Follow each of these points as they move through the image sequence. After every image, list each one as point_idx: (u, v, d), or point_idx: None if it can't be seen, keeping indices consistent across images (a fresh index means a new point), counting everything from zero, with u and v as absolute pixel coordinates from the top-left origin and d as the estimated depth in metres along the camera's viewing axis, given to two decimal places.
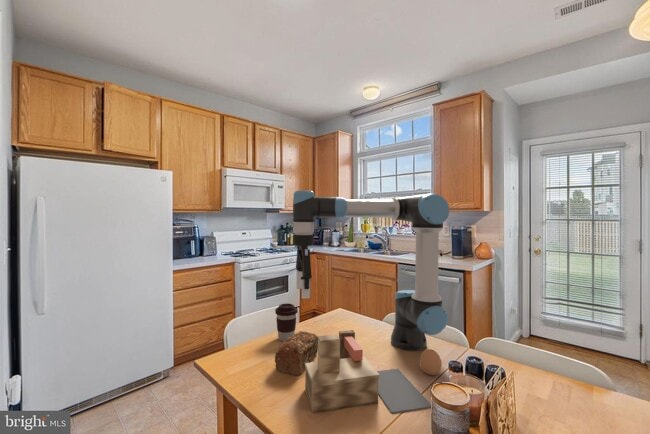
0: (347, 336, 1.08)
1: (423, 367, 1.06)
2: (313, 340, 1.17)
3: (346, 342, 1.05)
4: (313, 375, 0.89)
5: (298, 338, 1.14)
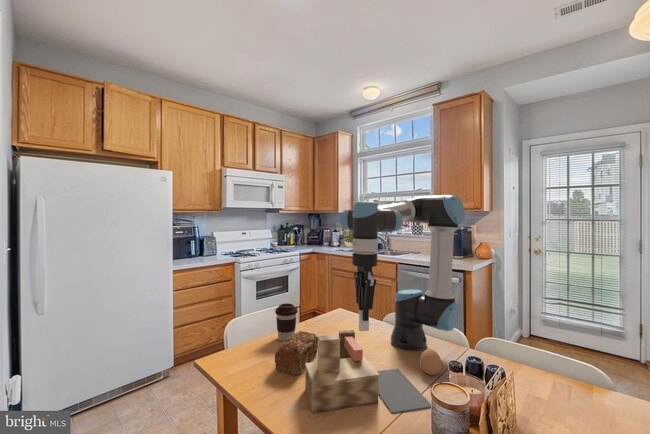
0: (347, 336, 1.08)
1: (423, 367, 1.06)
2: (313, 340, 1.17)
3: (346, 342, 1.05)
4: (313, 375, 0.89)
5: (298, 338, 1.14)
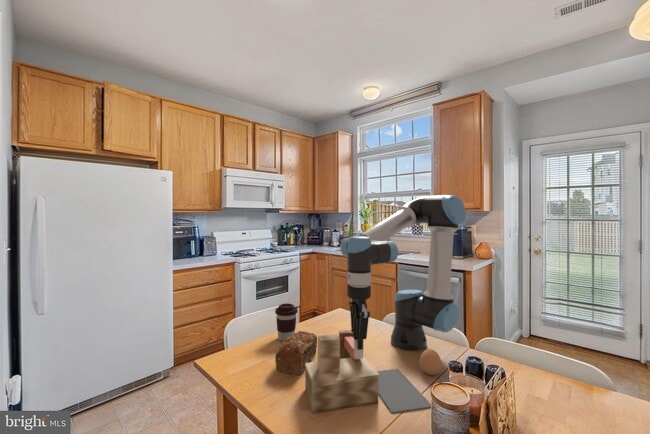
0: (346, 335, 1.09)
1: (423, 367, 1.06)
2: (312, 340, 1.17)
3: (345, 341, 1.06)
4: (313, 375, 0.89)
5: (298, 338, 1.14)
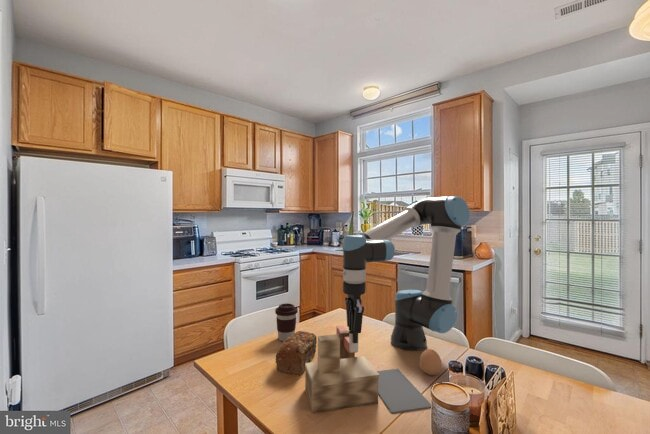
0: (342, 330, 1.13)
1: (423, 367, 1.06)
2: (312, 339, 1.17)
3: None
4: (313, 375, 0.89)
5: (298, 338, 1.14)
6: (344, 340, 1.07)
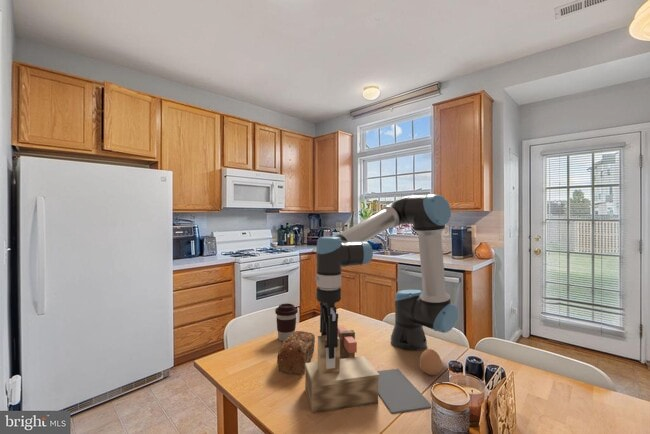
0: (342, 330, 1.13)
1: (423, 367, 1.06)
2: (311, 339, 1.18)
3: None
4: (313, 375, 0.89)
5: (298, 338, 1.14)
6: (344, 340, 1.07)
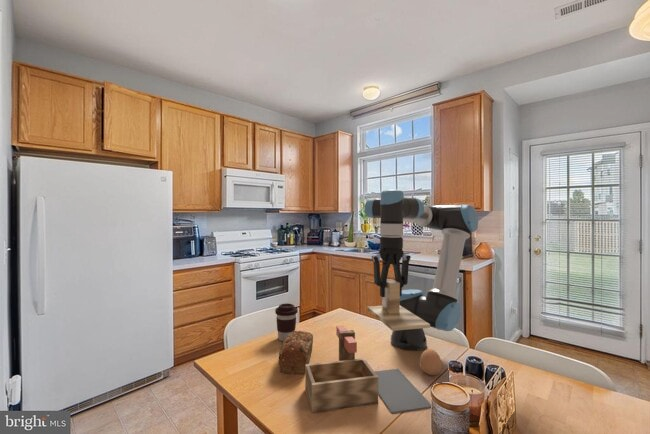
0: (342, 330, 1.13)
1: (423, 367, 1.06)
2: (311, 338, 1.18)
3: None
4: (379, 306, 1.06)
5: (298, 337, 1.14)
6: (344, 340, 1.07)
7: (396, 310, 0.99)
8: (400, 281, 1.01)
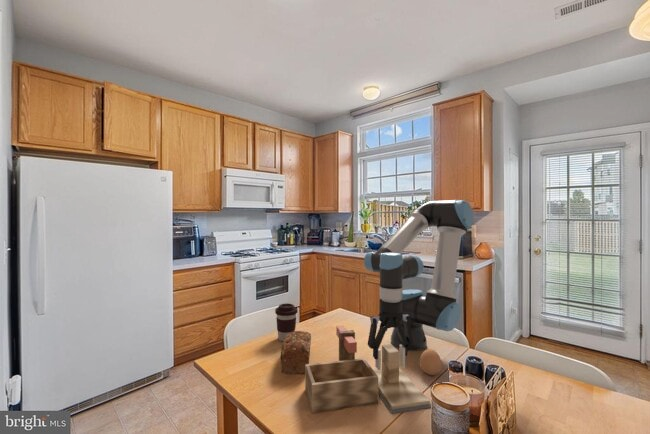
0: (342, 330, 1.13)
1: (423, 367, 1.06)
2: (309, 338, 1.19)
3: None
4: (379, 370, 1.06)
5: (298, 337, 1.14)
6: (344, 340, 1.07)
7: (395, 379, 0.99)
8: (405, 342, 1.01)
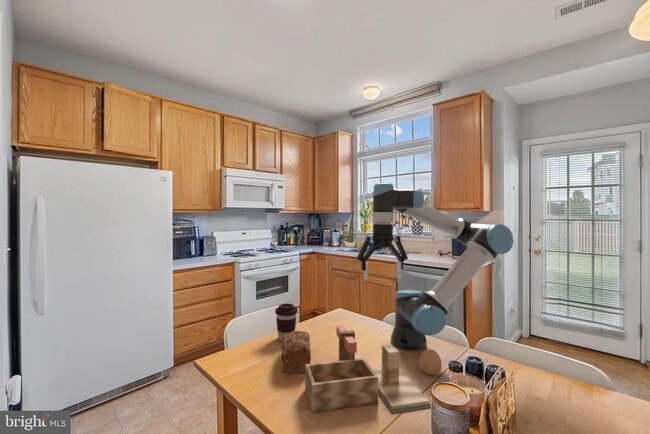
0: (342, 330, 1.13)
1: (423, 367, 1.06)
2: (309, 337, 1.19)
3: None
4: (379, 370, 1.06)
5: (298, 337, 1.14)
6: (344, 340, 1.07)
7: (395, 379, 0.99)
8: (400, 257, 1.17)
